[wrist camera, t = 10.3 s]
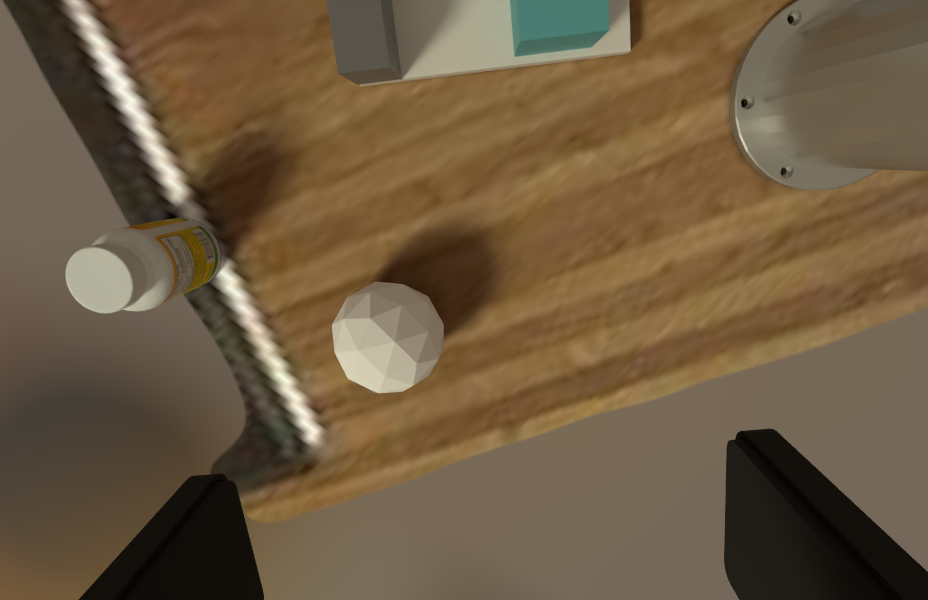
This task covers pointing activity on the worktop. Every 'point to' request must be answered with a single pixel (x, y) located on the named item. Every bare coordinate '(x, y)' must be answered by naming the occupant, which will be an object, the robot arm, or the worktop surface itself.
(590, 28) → the cube
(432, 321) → the ball
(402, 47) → the strip with cube
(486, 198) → the worktop surface
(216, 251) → the supplement bottle
